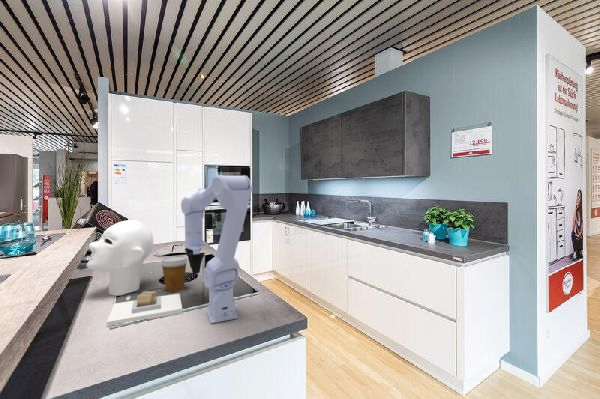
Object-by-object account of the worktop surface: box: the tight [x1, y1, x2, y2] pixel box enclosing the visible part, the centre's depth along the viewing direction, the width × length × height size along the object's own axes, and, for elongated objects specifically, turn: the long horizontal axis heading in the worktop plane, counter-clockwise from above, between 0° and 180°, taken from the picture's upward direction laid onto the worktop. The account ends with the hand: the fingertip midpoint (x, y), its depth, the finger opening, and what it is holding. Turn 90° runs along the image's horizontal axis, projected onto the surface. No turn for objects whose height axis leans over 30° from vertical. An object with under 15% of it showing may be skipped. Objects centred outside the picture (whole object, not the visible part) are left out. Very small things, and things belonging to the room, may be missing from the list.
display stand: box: [106, 293, 183, 328], centre depth 93 cm, size 14×20×3 cm
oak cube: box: [136, 291, 157, 307], centre depth 93 cm, size 4×4×4 cm
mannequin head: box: [86, 219, 154, 297], centre depth 110 cm, size 18×23×28 cm
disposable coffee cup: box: [160, 255, 189, 293], centre depth 112 cm, size 10×10×12 cm
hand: (194, 270), depth 102 cm, fingers open, 7 cm apart
